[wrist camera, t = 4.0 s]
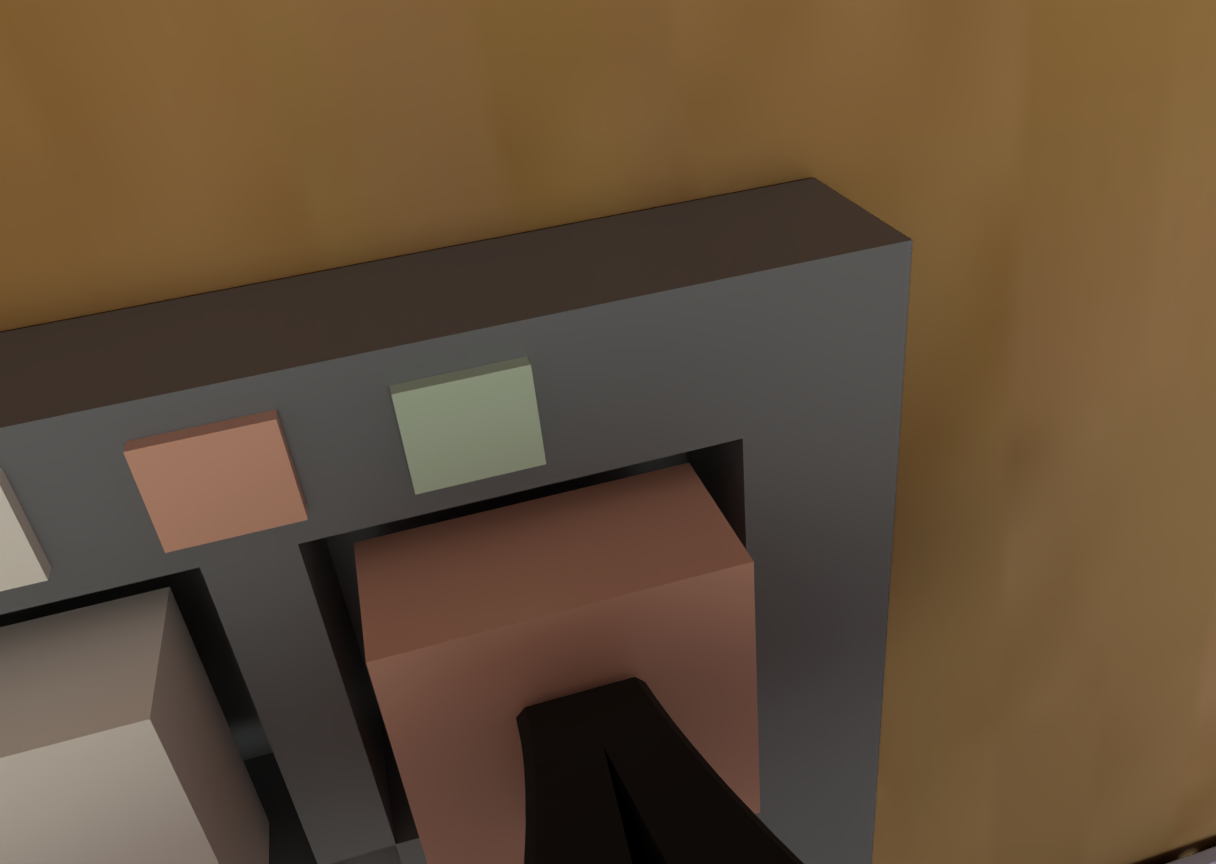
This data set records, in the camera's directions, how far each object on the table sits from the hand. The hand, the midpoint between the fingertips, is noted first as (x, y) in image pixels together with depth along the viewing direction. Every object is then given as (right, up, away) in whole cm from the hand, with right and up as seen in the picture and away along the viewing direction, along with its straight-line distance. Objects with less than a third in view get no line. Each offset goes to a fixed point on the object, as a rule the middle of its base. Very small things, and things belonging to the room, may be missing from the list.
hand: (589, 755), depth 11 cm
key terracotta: (-1, +1, +2) cm, 2 cm away
